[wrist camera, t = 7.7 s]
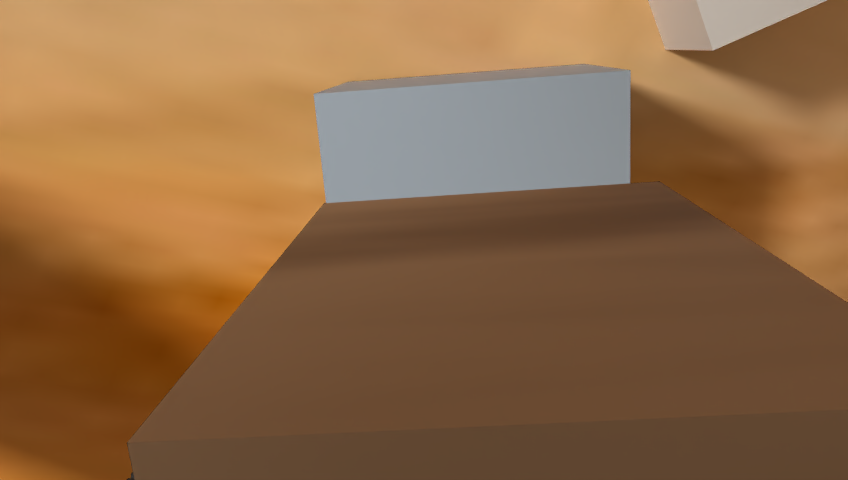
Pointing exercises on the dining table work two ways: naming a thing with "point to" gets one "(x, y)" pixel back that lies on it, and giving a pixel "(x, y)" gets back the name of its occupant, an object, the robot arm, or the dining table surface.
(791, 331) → the walnut block
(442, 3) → the dining table surface
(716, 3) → the grey cube
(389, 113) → the slate block
